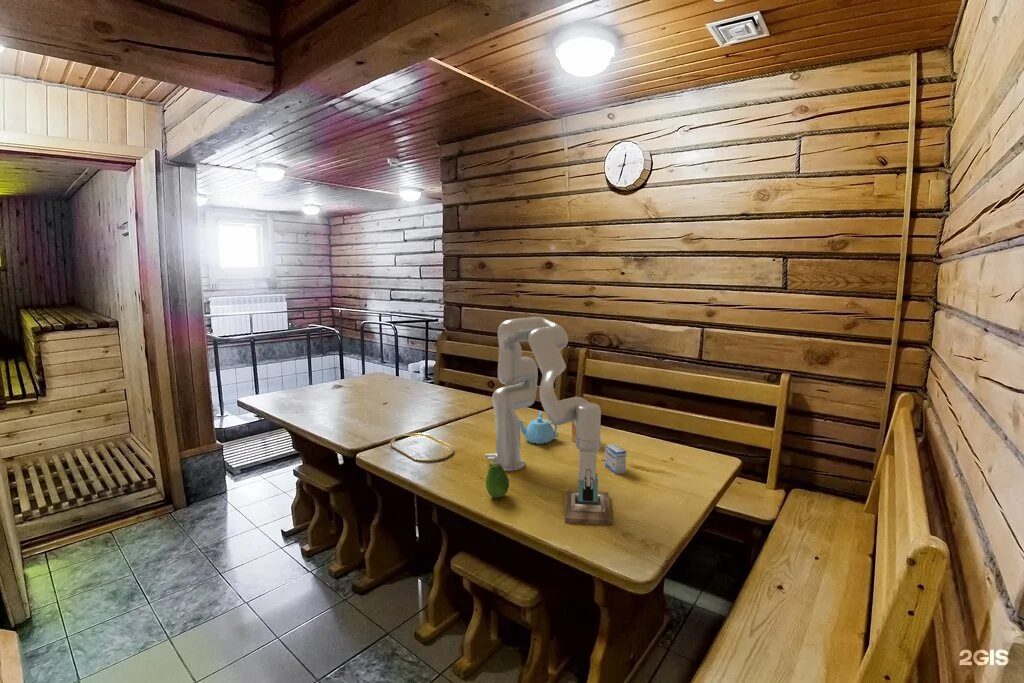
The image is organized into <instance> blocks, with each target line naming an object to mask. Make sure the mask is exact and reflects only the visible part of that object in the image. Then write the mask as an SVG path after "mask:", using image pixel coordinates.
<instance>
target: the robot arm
mask: <svg viewBox="0 0 1024 683" xmlns="http://www.w3.org/2000/svg"><path fill="white" fill-rule="evenodd" d="M497 329H498V330H497V341H498V360H497V362H498V363H497V378H498V381H499V382H500V383H501V384H503V385H506V386H501V387H499V388H497V389H495V390H494V392H493V393H492V396H491V402H492V405H493V410H494V419H495V422H494V423H495V424H494V425H495V452H494V453H485V456H484V457H485V459H487V461H492V464H494V463H497V464H500V465H501V466H502V467H503V469H504V471H505V472H515V471H519V470H521V469H523V468H524V467H525V465H526V464H525V460H524V459H523V458H522V456H521V455H522V454H521V428H520V420H521V419H520V418H519V417H518V415H517V413H516V410H520V409H525V408H528V407H531V406H532V405H533V404H534V403H535V401H536V398H537V389H538V388H537V386H538V374H539V372H538V368H539V370H540V373H541V375H542V377H541V381H540V385H539V399H540V400H539V401H540V403H541V406H542V408H543V411H544V413H545V415H546V417H547V418H548V421H550V422H552V423H553V424H552V425H554V424H555V425H557V426H561V425H565V424H569V423H572V422H573V421H576V442H575V447H576V448H577V450H579V451H578V472H579V480H580V481H583V480H584V488H583V501H593V481H595V473H597V472H596V470H597V451H599V450H600V449H601V419H602V418H601V417H602V415H601V414H602V412H601V406H600V405H599V404H597V403H594V402H589V401H588V400H587V399H585V398H583V397H580V396H573V397H568V398H564V399H559V400H558V397H557V395H556V393H555V389H554V385H555V384H554V383H555V380H556V378H557V377H558V376H559V375H561V374H562V373H563V372H564V371H565V370H566V368H567V365H566V363H565V360H564V358H563V355H562V354H561V351H560V350H562V349H564V348H566V347H567V345H568V343H569V336H568V333H567V332H566V330H565V328H564V327H562V326H561V325H559V324H558V323H556V322H553V321H551V320H549V319H547V318H545V317H542V316H531V317H518V318H511V319H506V320H504V321H503V322H501V323H500V324H499V326H498V328H497ZM522 342H528V344H529V347H530V349H531V352H532V354H533V357H534V359H535V360H534V359H533V358H532V357H531V356H522V354H523V351H522V350H523V349H522V346H521V343H522ZM537 365H538V366H537ZM555 425H554V426H555ZM585 478H586V479H585ZM590 478H591V479H590ZM585 482H586V484H585ZM590 482H591V484H590Z"/></svg>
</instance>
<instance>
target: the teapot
mask: <svg viewBox="0 0 1024 683" xmlns="http://www.w3.org/2000/svg"><path fill="white" fill-rule="evenodd" d="M519 420H520V433H522V434H523V435H524V437H525V438H526V440H527V442H529V443H531V444H534V443H536V444H535V445H544V443H546V444H549V443H551V442H550V441H553V440H554V438H558V437H559V433H558V432H557V429H558V425H555V424H553V423H552V422H551V421H550V422H549V420H547V419H545V418H543V412H542V411H539V413H538V417H536V418H535V419H533V420H531V421H530V422H529V424H528V425H527V427H525V426H524V423H523V420H521V419H519ZM552 425H554V428H553V426H552ZM548 442H549V443H548Z"/></svg>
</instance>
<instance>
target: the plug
mask: <svg viewBox="0 0 1024 683" xmlns="http://www.w3.org/2000/svg"><path fill="white" fill-rule="evenodd" d="M577 474H578V478H577V481H578V484H577V487H578V489H577V491H578V504H586V505H598V492H599V488H598V487H599V486H598V485H599V484H598V483H599V482H598V481H599V477H598V472H596V473H595V481H593V501H583V488H584V480H583V481H580V480H579V471H578V473H577ZM585 479H586V478H585ZM590 479H591V478H590ZM585 484H586V482H585ZM590 484H591V482H590Z"/></svg>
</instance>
